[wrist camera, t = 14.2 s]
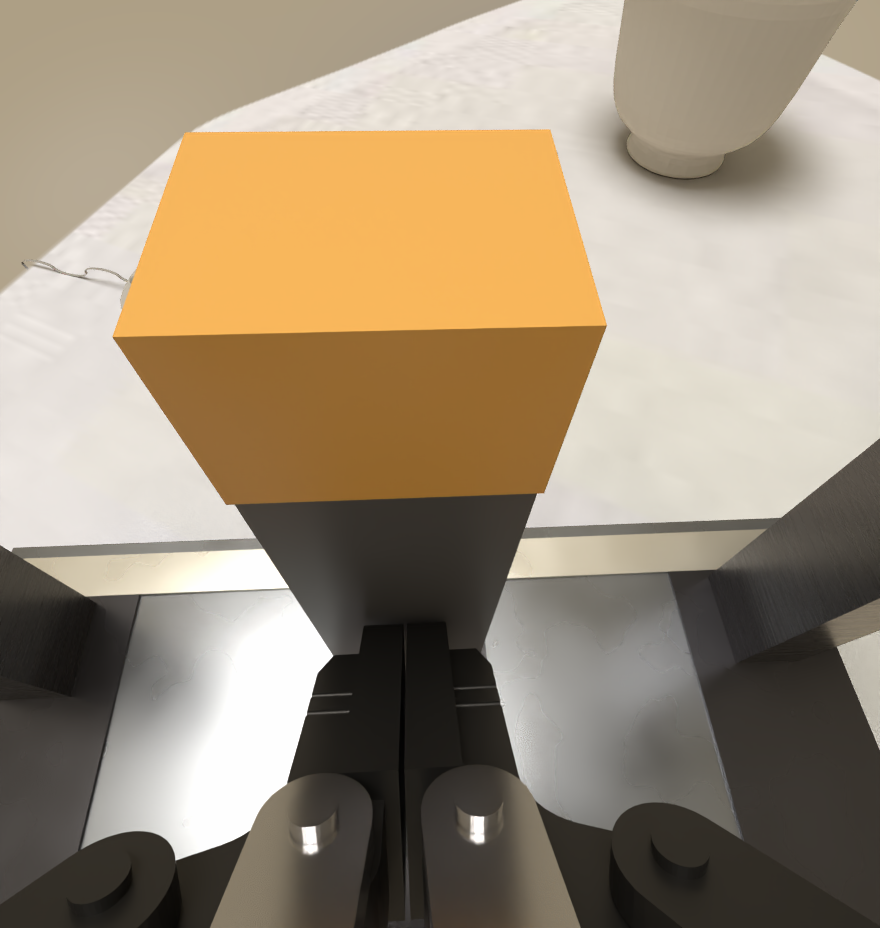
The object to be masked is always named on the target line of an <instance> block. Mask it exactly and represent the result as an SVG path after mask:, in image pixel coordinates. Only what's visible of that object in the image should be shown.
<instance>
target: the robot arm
mask: <svg viewBox="0 0 880 928" xmlns="http://www.w3.org/2000/svg"><path fill="white" fill-rule="evenodd" d="M406 821H407V845H408V869H409V892H410V916H411V920H416V919H424V923H425V928H880V926H879V925H878V924H876V923H875V922H873V921H871V920H870V919H868V918H867V917H865V916H863V915H862V914H860V913H858V912H857V911H855V910H854V909H852V908H850V907H849V906H847V905H846V904H844V903H842V902H841V901H839V900H838V899H836V898H834V897H833V896H831V895H830V894H828V893H826V892H825V891H823V890H822V889H820V888H818V887H817V886H815V885H814V884H812V883H810V882H809V881H807V880H806V879H804V878H802V877H801V876H799V875H798V874H796V873H794V872H793V871H791V870H789V869H788V868H786V867H785V866H783V865H781V864H780V863H778V862H777V861H775V860H773V859H772V858H770V857H769V856H767V855H765V854H764V853H762V852H761V851H759V850H757V849H756V848H754V847H753V846H751V845H749V844H748V843H746V842H745V841H743V840H741V839H740V838H738V837H737V836H735V835H733V834H732V833H730V832H729V831H727V830H725V829H724V828H722V827H721V826H719V825H717V824H716V823H714V822H712V821H711V820H709V819H708V818H706V817H704V816H702V815H700V814H699V813H697V812H694V811H692V810H690V809H687V808H685V807H681V806H678V805H675V804H669V803H660V802H651V803H643V804H639V805H636V806H633V807H631V808H629V809H627V810H626V811H625V812H624V813H622V814H621V815H620V817H619V818H618V819H617V820H616V822H615V825H614V827H613V830H612V831H611V830H607V829H602V828H598V827H594V826H589V825H585V824H581V823H577V822H573V821H570V820H567V819H564V818H562V817H560V816H557V815H555V814H554V813H552V812H550V811H548V810H547V809H545V808H544V807H543V806H541V805H540V804H539V803H537V802H536V801H535V800H534V797H533V795H532V793H531V792H530V791H529V789H528V788H527V786H526V785H525V784H524V783H523V782H522V781H521V780H520V777H519V774H518V770H517V766H516V762H515V758H514V754H513V750H512V746H511V742H510V738H509V734H508V730H507V725H506V721H505V717H504V713H503V709H502V706H501V701H500V697H499V693H498V689H497V686H496V680H495V676H494V672H493V668H492V664H491V663H490V662H489V661H488V660H487V659H486V658H485V657H484V656H483V655H482V654H481V653H480V652H479V651H478V650H477V649H476V648H470V649H449V644H448V636H447V627H446V622H429V623H407V643H406V670H405V645H404V626H403V624H388V625H365V626H364V627H363V632H362V638H361V644H360V650H359V654H345V655H334V656H333V657H332V658H331V659H330V660H329V661H328V662H327V663H326V664H325V666H324V667H323V668H322V669H321V670H320V671H319V672H318V673H317V677H316V680H315V684H314V687H313V691H312V698H310V702H309V705H308V709H307V716H305V719H304V723H303V727H302V730H301V734H300V737H299V741H298V744H297V748H296V751H295V755H294V758H293V762H292V766H291V769H290V773H289V776H288V780H287V783H286V785H285V786H283V787H281V788H280V789H279V790H277V791H276V792H275V793H274V794H272V795H271V796H270V797H269V798H268V800H267V801H266V802H265V803H264V804H263V806H262V807H261V808H260V810H259V812H258V814H257V816H256V818H255V820H254V822H253V825H252V827H251V830H250V831H248V832H247V833H245V834H244V835H242V836H240V837H238V838H236V839H234V840H232V841H230V842H227V843H225V844H222V845H220V846H217V847H214V848H211V849H208V850H205V851H202V852H199V853H196V854H193V855H190V856H187V857H184V858H181V859H179V860H176V859H175V853H174V851H173V848H172V846H171V845H170V843H169V842H168V841H167V840H166V839H165V838H163V837H162V836H160V835H158V834H155V833H152V832H146V831H131V832H124V833H119V834H116V835H112V836H109V837H106V838H104V839H101V840H99V841H96V842H94V843H92V844H90V845H88V846H86V847H84V848H83V849H81V850H80V851H78V852H76V853H75V854H73V855H72V856H70V857H69V858H67V859H66V860H64V861H63V862H61V863H60V864H58V865H57V866H56V867H54V868H53V869H51V870H50V871H48V872H47V873H45V874H44V875H42V876H41V877H40V878H38V879H37V880H35V881H34V882H32V883H31V884H29V885H28V886H26V887H25V888H23V889H22V890H21V891H19V892H18V893H16V894H15V895H13V896H12V897H10V898H9V899H7V900H6V901H5V902H3V903H2V904H0V928H388V922H392V921H405V890H406Z"/></svg>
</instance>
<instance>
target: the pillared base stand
mask: <svg viewBox="0 0 880 928" xmlns="http://www.w3.org/2000/svg"><path fill="white" fill-rule="evenodd" d="M879 630H880V439H879V440H877V441H876V442H875V443H874V444H872V445H871V446H870V447H869V448H867V449H866V450H865V451H864V452H863V453H861V454H860V455H859V456H858V457H856V458H855V459H854V460H853V461H851V462H850V463H849V464H848V465H846V466H845V467H844V468H843V469H841V470H840V471H839V472H838V473H836V474H835V475H834V476H833V477H831V478H830V479H829V480H828V481H826V482H825V483H824V484H823V485H821V486H820V487H819V488H818V489H816V490H815V491H814V492H813V493H812V494H810V495H809V496H808V497H807V498H805V499H804V500H803V501H802V502H800V503H799V504H798V505H797V506H795V507H794V508H793V509H792V510H790V511H789V512H788V513H787V514H785V515H784V516H783V517H782V518H769V519H743V520H718V521H692V522H666V523H641V524H615V525H589V526H564V527H538V528H525V529H524V532H523V535H522V537H521V540H520V543H519V546H518V549H517V551H516V554H515V557H514V560H513V563H512V566H511V568H510V571H509V574H508V577H507V580H506V583H505V585H504V588H503V591H502V594H501V597H500V600H499V602H498V605H497V608H496V611H495V614H494V617H493V619H492V622H491V625H490V628H489V631H488V634H487V636H486V639H485V642H484V645H483V648H482V651H481V654H482V655H483V656H484V657H485V658H486V659H487V660H488V661H489V662H490V663H491V664H492V668H493V672H494V676H495V680H496V686H497V689H498V693H499V697H500V701H501V706H502V709H503V713H504V717H505V721H506V725H507V730H508V734H509V738H510V742H511V746H512V750H513V754H514V758H515V762H516V766H517V770H518V774H519V777H520V780H521V781H522V782H523V783H524V784H525V785H526V786H527V788H528V789H529V791H530V792H531V793H532V795H533V797H534V800H535V801H536V802H537V803H539V804H540V805H541V806H543V807H544V808H545V809H547V810H548V811H550V812H552V813H554V814H555V815H557V816H560V817H562V818H564V819H567V820H570V821H573V822H577V823H581V824H585V825H589V826H594V827H598V828H602V829H607V830H611V831H612V830H613V827H614V825H615V822H616V820H617V819H618V818H619V817H620V815H621V814H622V813H624V812H625V811H626V810H627V809H629V808H631V807H633V806H636V805H639V804H643V803H651V802H660V803H669V804H675V805H678V806H681V807H685V808H687V809H690V810H692V811H694V812H697V813H699V814H700V815H702V816H704V817H706V818H708V819H709V820H711V821H712V822H714V823H716V824H717V825H719V826H721V827H722V828H724V829H725V830H727V831H729V832H730V833H732V834H733V835H735V836H737V837H738V838H740V839H741V840H743V841H745V842H746V843H748V844H749V845H751V846H753V847H754V848H756V849H757V850H759V851H761V852H762V853H764V854H765V855H767V856H769V857H770V858H772V859H773V860H775V861H777V862H778V863H780V864H781V865H783V866H785V867H786V868H788V869H789V870H791V871H793V872H794V873H796V874H798V875H799V876H801V877H802V878H804V879H806V880H807V881H809V882H810V883H812V884H814V885H815V886H817V887H818V888H820V889H822V890H823V891H825V892H826V893H828V894H830V895H831V896H833V897H834V898H836V899H838V900H839V901H841V902H842V903H844V904H846V905H847V906H849V907H850V908H852V909H854V910H855V911H857V912H858V913H860V914H862V915H863V916H865V917H867V918H868V919H870V920H871V921H873V922H875V923H876V924H878V925H879V926H880V750H879V748H878V745H877V743H876V740H875V738H874V736H873V733H872V731H871V728H870V726H869V724H868V721H867V719H866V716H865V714H864V712H863V709H862V707H861V704H860V702H859V700H858V697H857V695H856V692H855V690H854V688H853V685H852V683H851V680H850V678H849V676H848V673H847V671H846V668H845V666H844V664H843V661H842V659H841V656H840V654H839V651H838V649H837V646H840V645H842V644H845V643H847V642H850V641H853V640H855V639H858V638H861V637H863V636H866V635H868V634H871V633H874V632H876V631H879ZM332 657H333V655H332V653H331V652H330V650H329V649H328V647H327V646H326V644H325V643H324V641H323V640H322V638H321V636H320V635H319V633H318V632H317V630H316V629H315V627H314V626H313V624H312V623H311V621H310V620H309V618H308V616H307V615H306V613H305V612H304V610H303V609H302V607H301V606H300V604H299V603H298V601H297V600H296V598H295V596H294V595H293V593H292V592H291V590H290V589H289V587H288V586H287V584H286V583H285V581H284V580H283V578H282V576H281V575H280V573H279V572H278V570H277V569H276V567H275V566H274V564H273V563H272V561H271V560H270V558H269V556H268V555H267V553H266V552H265V550H264V549H263V547H262V546H261V544H260V543H259V541H258V540H257V538H256V539H230V540H204V541H179V542H153V543H127V544H102V545H76V546H50V547H25V548H13V550H12V552H10V551H9V550H7V549H5V548H4V547H2V546H0V904H2V903H3V902H5V901H6V900H7V899H9V898H10V897H12V896H13V895H15V894H16V893H18V892H19V891H21V890H22V889H23V888H25V887H26V886H28V885H29V884H31V883H32V882H34V881H35V880H37V879H38V878H40V877H41V876H42V875H44V874H45V873H47V872H48V871H50V870H51V869H53V868H54V867H56V866H57V865H58V864H60V863H61V862H63V861H64V860H66V859H67V858H69V857H70V856H72V855H73V854H75V853H76V852H78V851H80V850H81V849H83V848H84V847H86V846H88V845H90V844H92V843H94V842H96V841H99V840H101V839H104V838H106V837H109V836H112V835H116V834H119V833H124V832H131V831H146V832H152V833H155V834H158V835H160V836H162V837H163V838H165V839H166V840H167V841H168V842H169V843H170V845H171V846H172V848H173V851H174V853H175V859H176V860H179V859H181V858H184V857H187V856H190V855H193V854H196V853H199V852H202V851H205V850H208V849H211V848H214V847H217V846H220V845H222V844H225V843H227V842H230V841H232V840H234V839H236V838H238V837H240V836H242V835H244V834H245V833H247V832H248V831H250V830H251V827H252V825H253V822H254V820H255V818H256V816H257V814H258V812H259V810H260V808H261V807H262V806H263V804H264V803H265V802H266V801H267V800H268V798H269V797H270V796H271V795H272V794H274V793H275V792H276V791H277V790H279V789H280V788H281V787H283V786H285V785H286V783H287V780H288V776H289V773H290V769H291V766H292V762H293V758H294V755H295V751H296V748H297V744H298V741H299V737H300V734H301V730H302V727H303V723H304V719H305V716H307V709H308V705H309V702H310V698H312V691H313V687H314V684H315V680H316V677H317V673H318V672H319V671H320V670H321V669H322V668H323V667H324V666H325V664H326V663H327V662H328V661H329V660H330V659H331V658H332ZM388 928H425V923H424V919H416V920H411V916H410V892H409V869H408V845H407V821H406V890H405V921H392V922H388Z"/></svg>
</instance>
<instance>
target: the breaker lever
mask: <svg viewBox="0 0 880 928" xmlns="http://www.w3.org/2000/svg"><path fill="white" fill-rule="evenodd" d="M606 326H607V324H606V321H605V317H604V314H603V310H602V307H601V304H600V300H599V297H598V293H597V290H596V286H595V283H594V279H593V276H592V272H591V269H590V266H589V262H588V259H587V255H586V252H585V248H584V245H583V241H582V238H581V234H580V231H579V228H578V224H577V221H576V217H575V214H574V210H573V207H572V203H571V200H570V197H569V193H568V190H567V186H566V183H565V179H564V176H563V172H562V169H561V165H560V162H559V159H558V155H557V152H556V148H555V145H554V141H553V138H552V134H551V131H550V130H437V131H313V132H190V133H185V134H184V136H183V139H182V142H181V145H180V148H179V151H178V153H177V156H176V159H175V162H174V165H173V167H172V170H171V173H170V176H169V179H168V182H167V184H166V187H165V190H164V193H163V196H162V199H161V201H160V204H159V207H158V210H157V213H156V216H155V218H154V221H153V224H152V227H151V230H150V232H149V235H148V238H147V241H146V244H145V247H144V249H143V252H142V255H141V258H140V261H139V264H138V266H137V269H136V272H135V275H134V278H133V280H132V283H131V286H130V289H129V292H128V295H127V297H126V300H125V303H124V306H123V309H122V312H121V314H120V317H119V320H118V323H117V326H116V328H115V331H114V334H113V339H114V340H115V341H116V343H117V344H118V346H119V347H120V349H121V350H122V352H123V353H124V355H125V356H126V358H127V359H128V361H129V362H130V364H131V365H132V367H133V368H134V369H135V371H136V372H137V374H138V375H139V377H140V378H141V380H142V381H143V383H144V384H145V386H146V387H147V389H148V390H149V392H150V393H151V395H152V396H153V397H154V399H155V400H156V402H157V403H158V405H159V406H160V408H161V409H162V411H163V412H164V414H165V415H166V417H167V418H168V420H169V421H170V422H171V424H172V425H173V427H174V428H175V430H176V431H177V433H178V434H179V436H180V437H181V439H182V440H183V442H184V443H185V445H186V446H187V448H188V449H189V450H190V452H191V453H192V455H193V456H194V458H195V459H196V461H197V462H198V464H199V465H200V467H201V468H202V470H203V471H204V473H205V474H206V476H207V477H208V478H209V480H210V481H211V483H212V484H213V486H214V487H215V489H216V490H217V492H218V493H219V495H220V496H221V498H222V499H223V501H224V502H225V504H226V505H232V504H235V506H236V507H237V509H238V510H239V512H240V513H241V515H242V516H243V518H244V520H245V521H246V523H247V524H248V526H249V527H250V529H251V530H252V532H253V533H254V535H255V536H256V538H257V540H258V541H259V543H260V544H261V546H262V547H263V549H264V550H265V552H266V553H267V555H268V556H269V558H270V560H271V561H272V563H273V564H274V566H275V567H276V569H277V570H278V572H279V573H280V575H281V576H282V578H283V580H284V581H285V583H286V584H287V586H288V587H289V589H290V590H291V592H292V593H293V595H294V596H295V598H296V600H297V601H298V603H299V604H300V606H301V607H302V609H303V610H304V612H305V613H306V615H307V616H308V618H309V620H310V621H311V623H312V624H313V626H314V627H315V629H316V630H317V632H318V633H319V635H320V636H321V638H322V640H323V641H324V643H325V644H326V646H327V647H328V649H329V650H330V652H331V653H332V655H333V656H334V655H345V654H359V650H360V644H361V638H362V632H363V627H364V626H365V625H388V624H403V626H404V645H405V670H406V643H407V623H429V622H446V627H447V636H448V644H449V649H470V648H476V649H477V650H478V651H479V652H480V653H481V651H482V648H483V645H484V642H485V639H486V636H487V634H488V631H489V628H490V625H491V622H492V619H493V617H494V614H495V611H496V608H497V605H498V602H499V600H500V597H501V594H502V591H503V588H504V585H505V583H506V580H507V577H508V574H509V571H510V568H511V566H512V563H513V560H514V557H515V554H516V551H517V549H518V546H519V543H520V540H521V537H522V535H523V532H524V529H525V526H526V523H527V520H528V518H529V515H530V512H531V509H532V506H533V503H534V501H535V498H536V495H537V493H544V492H545V489H546V486H547V484H548V481H549V478H550V476H551V473H552V470H553V468H554V465H555V462H556V460H557V457H558V454H559V452H560V449H561V446H562V444H563V441H564V438H565V436H566V433H567V430H568V428H569V425H570V422H571V420H572V417H573V414H574V412H575V409H576V406H577V404H578V401H579V398H580V396H581V393H582V390H583V388H584V385H585V382H586V380H587V377H588V374H589V372H590V369H591V366H592V364H593V361H594V358H595V356H596V353H597V350H598V348H599V345H600V342H601V340H602V337H603V334H604V332H605V329H606Z"/></svg>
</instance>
